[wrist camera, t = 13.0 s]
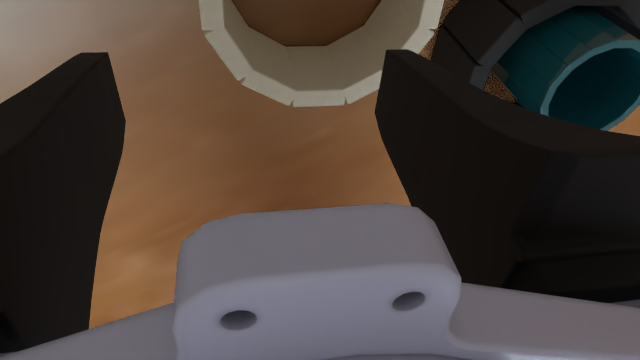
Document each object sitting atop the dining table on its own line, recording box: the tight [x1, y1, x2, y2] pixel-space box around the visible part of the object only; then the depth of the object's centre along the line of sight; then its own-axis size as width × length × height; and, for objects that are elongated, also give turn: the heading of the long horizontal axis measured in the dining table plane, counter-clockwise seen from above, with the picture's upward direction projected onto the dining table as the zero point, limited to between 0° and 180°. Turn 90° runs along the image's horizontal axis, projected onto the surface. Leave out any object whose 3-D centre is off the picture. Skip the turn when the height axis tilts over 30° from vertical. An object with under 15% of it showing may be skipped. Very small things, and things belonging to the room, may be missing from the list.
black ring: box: [431, 0, 640, 107], centre depth 22 cm, size 9×9×4 cm
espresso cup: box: [490, 6, 640, 131], centre depth 20 cm, size 5×5×6 cm
